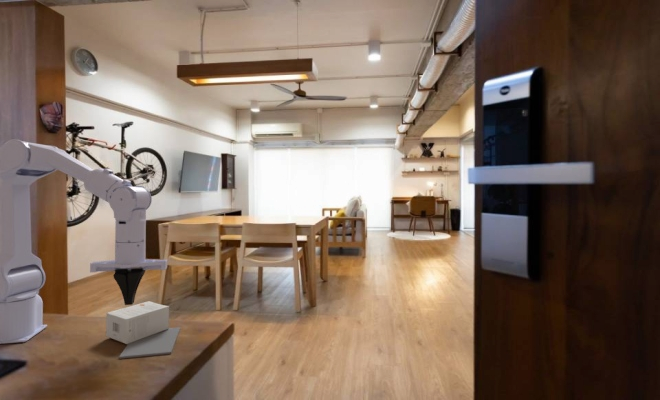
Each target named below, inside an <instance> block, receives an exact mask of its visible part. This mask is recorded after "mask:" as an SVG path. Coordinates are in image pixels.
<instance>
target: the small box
mask: <svg viewBox="0 0 660 400" xmlns="http://www.w3.org/2000/svg"><path fill="white" fill-rule="evenodd" d="M105 317H106V318H105V319H106V321H105V322H106V323H105V324H106V327H105V329H106V332H105V336H106V338H110V339H113V340H115V341H118V342H120V343H123V344H125V345H128V344H129V343H131V342H134V341H137V340H139V339H142V338H145V337H148V336H150V335H153V334H156V333H158V332H161V331H164V330H166V329H169V328H170V306H169V305H163V304H160V303H156V302H153V301H150V300H148V301H145V302H140V303H138V304H134V305H133V304H132V305H128V306H126V307H122V308H119V309H116V310H115V309H114V310H112V311H109V312H106V315H105Z"/></svg>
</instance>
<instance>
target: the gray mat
mask: <svg viewBox="0 0 660 400" xmlns="http://www.w3.org/2000/svg"><path fill="white" fill-rule="evenodd" d="M180 330H181V327H180V326H179V327H169V329H166V330H164V331H161V332H158V333H156V334H153V335H150V336H148V337H145V338H142V339H139V340H137V341H134V342H131V343H129V344H126V346H125V347H124V349H123V351H122V352H121V353H120V355H119V356H118V359H119V360H120V359H130V358H131V359H132V358H140V357H142V358H143V357H151V356H161V355H171V354H172V353H173V349H174V347H175V345H176V341H177V339H178V336H179V334H180Z"/></svg>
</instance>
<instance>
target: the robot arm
mask: <svg viewBox="0 0 660 400" xmlns="http://www.w3.org/2000/svg"><path fill="white" fill-rule="evenodd" d="M56 171H60V172H62V173H64V174H66V175H68V176H70V177H72V178H74V179H76V180H78V181H80V182H82V183H83V186H84V189H85V190H86V192H89V193H91V194H92V195H94V196H96V197H97V198H100V199H101V200H103V201H105V202H107V203H108V204H109V206H110V208H111V210H112V211H113V218H114V220H115V228H114V229H115V231H114V232H115V233H114V234H115V236H114V237H115V239H114V242H115V243H114V260H102V261H100V260H99V261H92V262H91V263H90V264H89V273H97V272H114V274H113V275H112V276H113V279H114V281H115V282H116V283H117V285H118V288H119V289H120V292H121V295H122V297H123V303H124V306H133V304H134V303H135V300H136V295H137V291H138V288H139V285H140V283H141V280H142V279H143V277H144V275H145V273H146V271H148V270H150V271H152V270H154V271H155V270H160V271H165V270H167V268H168V259H152V258H150V259H148V258H147V259H146V229H147V227H146V226H147V221H146V219H147V210H148V209H149V208H150V207H151V204H152V201H153V200H152V199H153V198H152V195H151V191H149V190H148V189H147V188H146V187H144V186H143V185H136V186H133V185H132V181H131V180H129V179H122V178H121V177H119V176H117V175H115V174H114V170H112V169H110V168H96V169H93V168H92V167H90V166H89V165H87V164H85V163H83V162H82V161H80V160H78V159H77V158H75V157H74V156H73V155H71V154H69V153H68V152H66V151H65V150H64V149H61V148H58V147H57V146H55V145H49V144H47V145H46V144H42V143H35V142H30V141H29V142H28V141H24V140H23V141H22V140H21V139H13V138H12V139H9V140H7V141H6V142H5V143H3V144H2V145H1V146H0V345H1V344H2V345H3V344H14V343H25V342H28V341H29V340H30V339H32V338H33V337H35V336H36V335H37V334H39V333H40V332H41V331H43V330H44V329H47V327H48V324H43V318H44V317H43V316H44V315H43V314H44V312H43V310H44V309H43V308H44V303H43V299H42V297H41V296H40V295H39V293H40V289H42V288H43V287H44V285H45V284H46V283H45V282H46V279H47V278H46V277H47V276H46V273H45V271H44V268H43V266H42V264H43V263H42V259H41V258H39V257H38V256H37V255H35V254H34V253H32V226H31V223H32V222H31V220H32V219H31V194H30V191H31V190H30V187H31V185H32V184H33V183H35V182H36V181H37V180H39V179H42V178H43V177H46V176H48V175H50V174H52V173H55V172H56Z"/></svg>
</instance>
